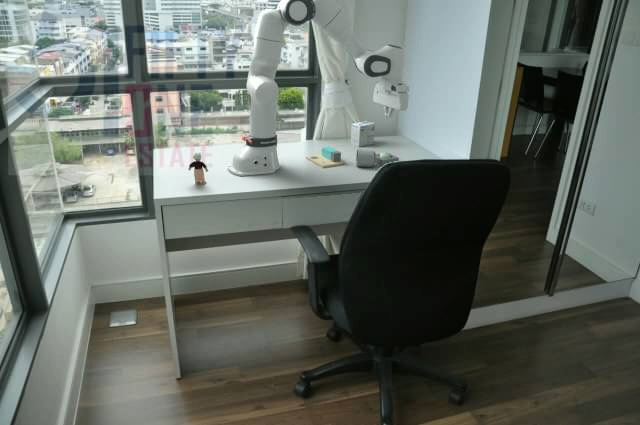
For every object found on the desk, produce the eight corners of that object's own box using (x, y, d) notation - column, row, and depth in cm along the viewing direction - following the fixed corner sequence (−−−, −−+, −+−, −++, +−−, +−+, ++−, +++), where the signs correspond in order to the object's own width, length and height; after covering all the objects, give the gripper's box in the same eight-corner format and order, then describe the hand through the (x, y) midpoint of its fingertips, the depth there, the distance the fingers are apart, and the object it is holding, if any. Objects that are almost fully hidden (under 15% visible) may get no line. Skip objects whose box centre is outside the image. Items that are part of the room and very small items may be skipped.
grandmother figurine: (209, 181, 201) (207, 150, 196) (208, 184, 197) (207, 153, 192) (189, 181, 200) (187, 150, 194) (188, 185, 196) (186, 154, 191)
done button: (383, 163, 226) (384, 156, 225) (377, 160, 230) (377, 153, 229) (391, 162, 229) (392, 154, 227) (385, 159, 232) (386, 151, 231)
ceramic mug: (375, 169, 221) (376, 152, 218) (356, 168, 220) (358, 151, 217) (372, 161, 231) (373, 145, 228) (354, 161, 230) (355, 145, 227)
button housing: (382, 166, 224) (383, 160, 223) (370, 160, 231) (371, 154, 230) (398, 163, 228) (398, 157, 227) (386, 158, 235) (386, 152, 234)
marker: (321, 155, 232) (322, 147, 231) (329, 154, 234) (329, 146, 233) (333, 162, 225) (333, 153, 223) (340, 160, 226) (341, 152, 225)
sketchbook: (322, 168, 220) (322, 165, 219) (305, 158, 231) (305, 156, 231) (343, 164, 225) (343, 162, 224) (326, 155, 237) (326, 153, 236)
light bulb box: (365, 140, 261) (366, 120, 257) (374, 144, 257) (375, 123, 252) (349, 144, 255) (351, 123, 251) (358, 147, 250) (360, 126, 246)
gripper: (370, 81, 222) (368, 112, 228) (400, 89, 206) (397, 122, 212) (382, 80, 225) (379, 111, 231) (412, 88, 209) (408, 121, 215)
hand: (388, 116), depth 221 cm, fingers closed
